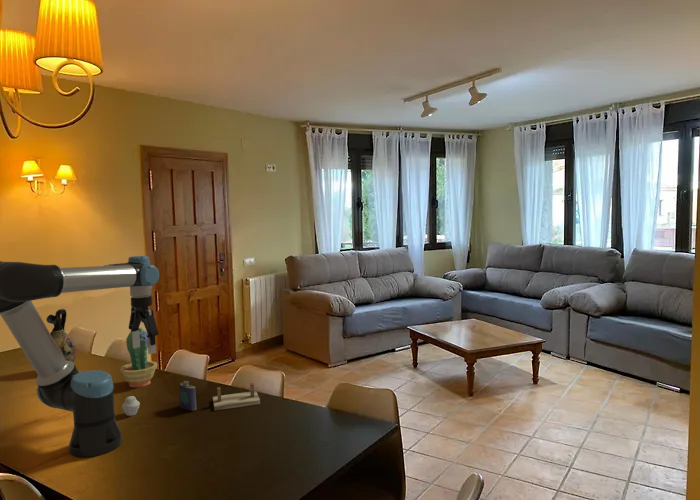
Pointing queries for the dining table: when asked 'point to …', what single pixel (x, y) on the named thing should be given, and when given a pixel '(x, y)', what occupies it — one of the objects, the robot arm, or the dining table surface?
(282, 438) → the dining table surface
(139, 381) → the potted cactus
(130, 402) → the white rounded jar
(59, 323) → the ceramic jug
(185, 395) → the flask
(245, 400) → the slice holder
